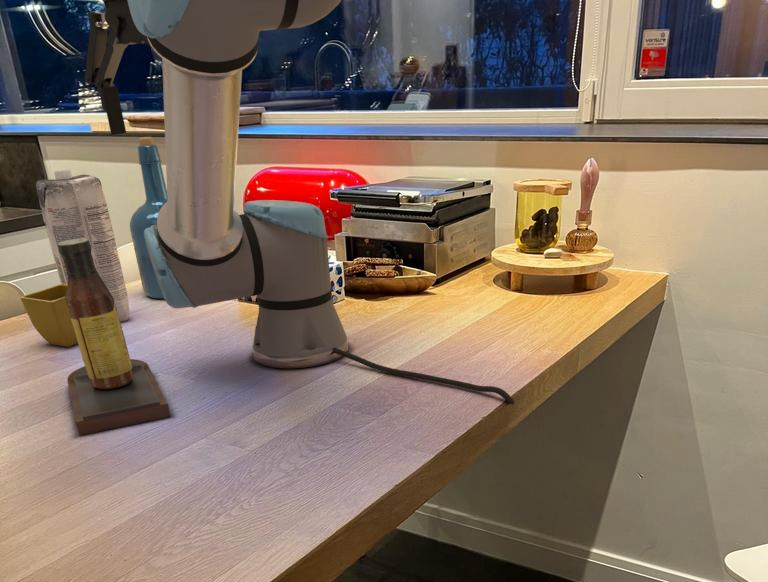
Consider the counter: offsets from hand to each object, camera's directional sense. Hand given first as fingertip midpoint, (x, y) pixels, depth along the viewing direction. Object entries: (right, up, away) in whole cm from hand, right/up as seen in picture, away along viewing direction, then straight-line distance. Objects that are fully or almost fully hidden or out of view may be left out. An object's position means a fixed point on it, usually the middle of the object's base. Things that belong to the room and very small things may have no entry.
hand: (152, 133), depth 122 cm
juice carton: (-18, -23, +29) cm, 41 cm away
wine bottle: (-8, -12, +45) cm, 48 cm away
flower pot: (-20, -29, +18) cm, 40 cm away
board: (-3, -42, -7) cm, 43 cm away
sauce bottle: (-3, -41, -9) cm, 42 cm away
